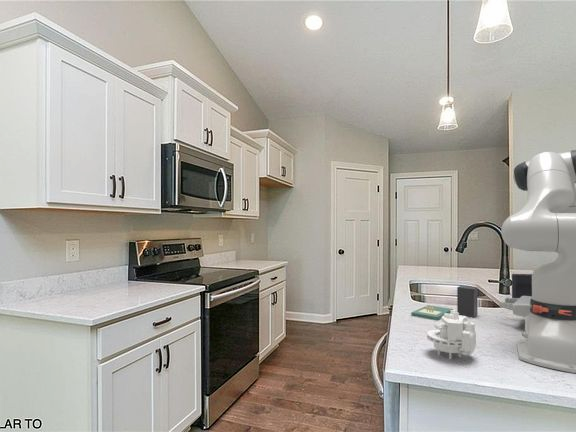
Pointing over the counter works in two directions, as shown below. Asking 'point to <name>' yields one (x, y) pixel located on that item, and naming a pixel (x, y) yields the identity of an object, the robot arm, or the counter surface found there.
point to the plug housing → (467, 301)
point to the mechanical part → (453, 334)
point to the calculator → (521, 285)
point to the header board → (431, 312)
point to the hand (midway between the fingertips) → (502, 302)
